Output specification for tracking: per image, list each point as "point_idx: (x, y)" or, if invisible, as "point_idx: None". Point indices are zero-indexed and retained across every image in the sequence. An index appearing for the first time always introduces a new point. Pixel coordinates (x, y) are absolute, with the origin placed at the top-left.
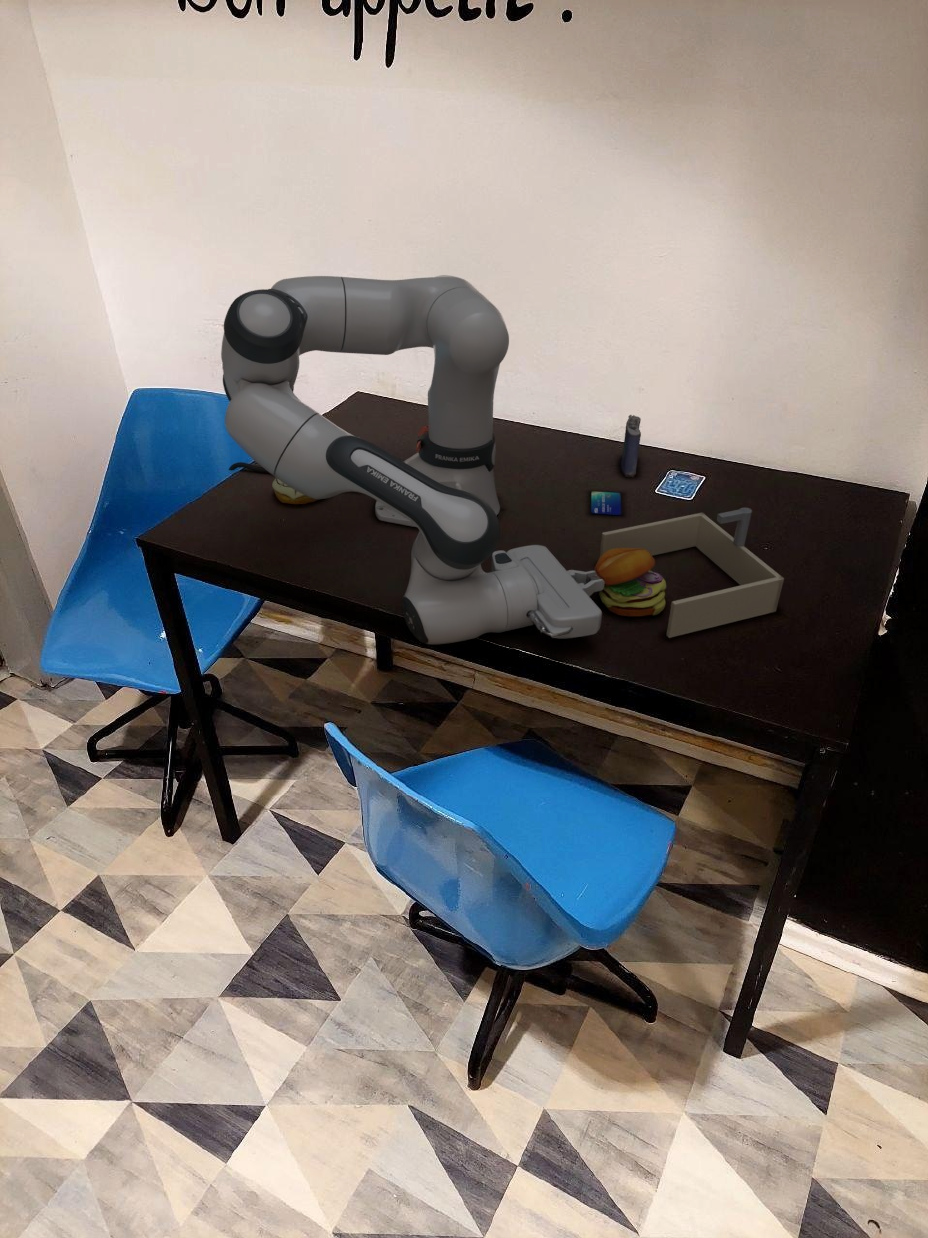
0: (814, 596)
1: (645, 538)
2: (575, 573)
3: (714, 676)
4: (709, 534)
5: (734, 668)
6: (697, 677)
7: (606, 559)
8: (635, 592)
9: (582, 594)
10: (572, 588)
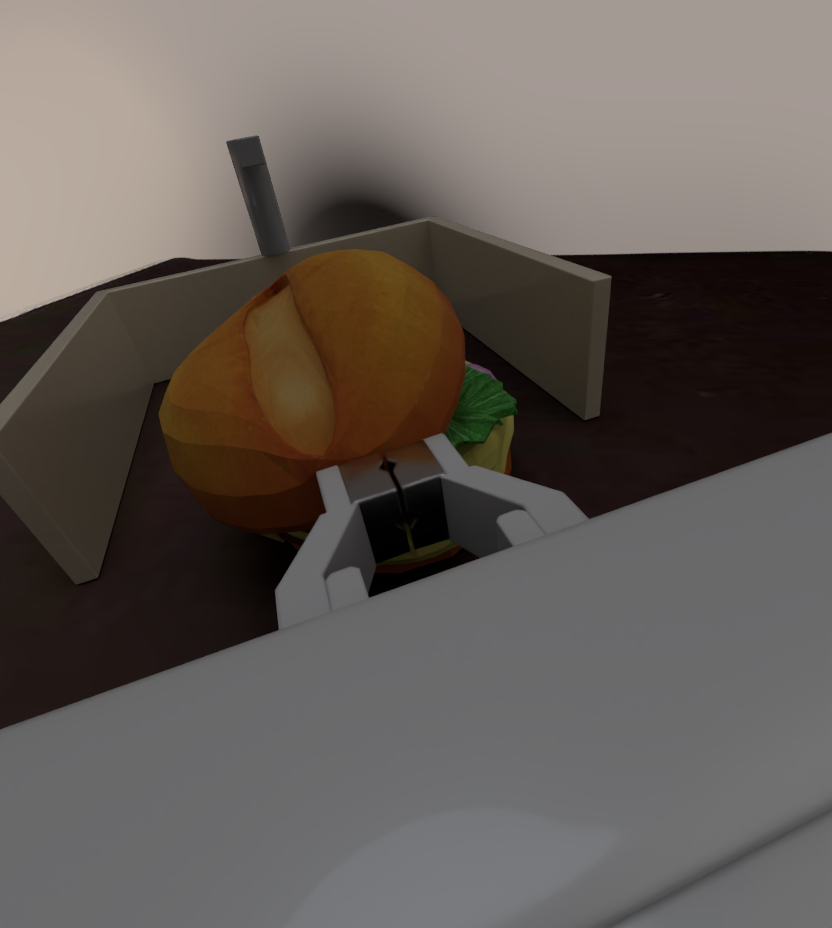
0: None
1: (91, 398)
2: (330, 570)
3: (758, 350)
4: (176, 312)
5: (693, 330)
6: (790, 371)
7: (256, 399)
8: (491, 378)
9: (789, 482)
10: (719, 555)
